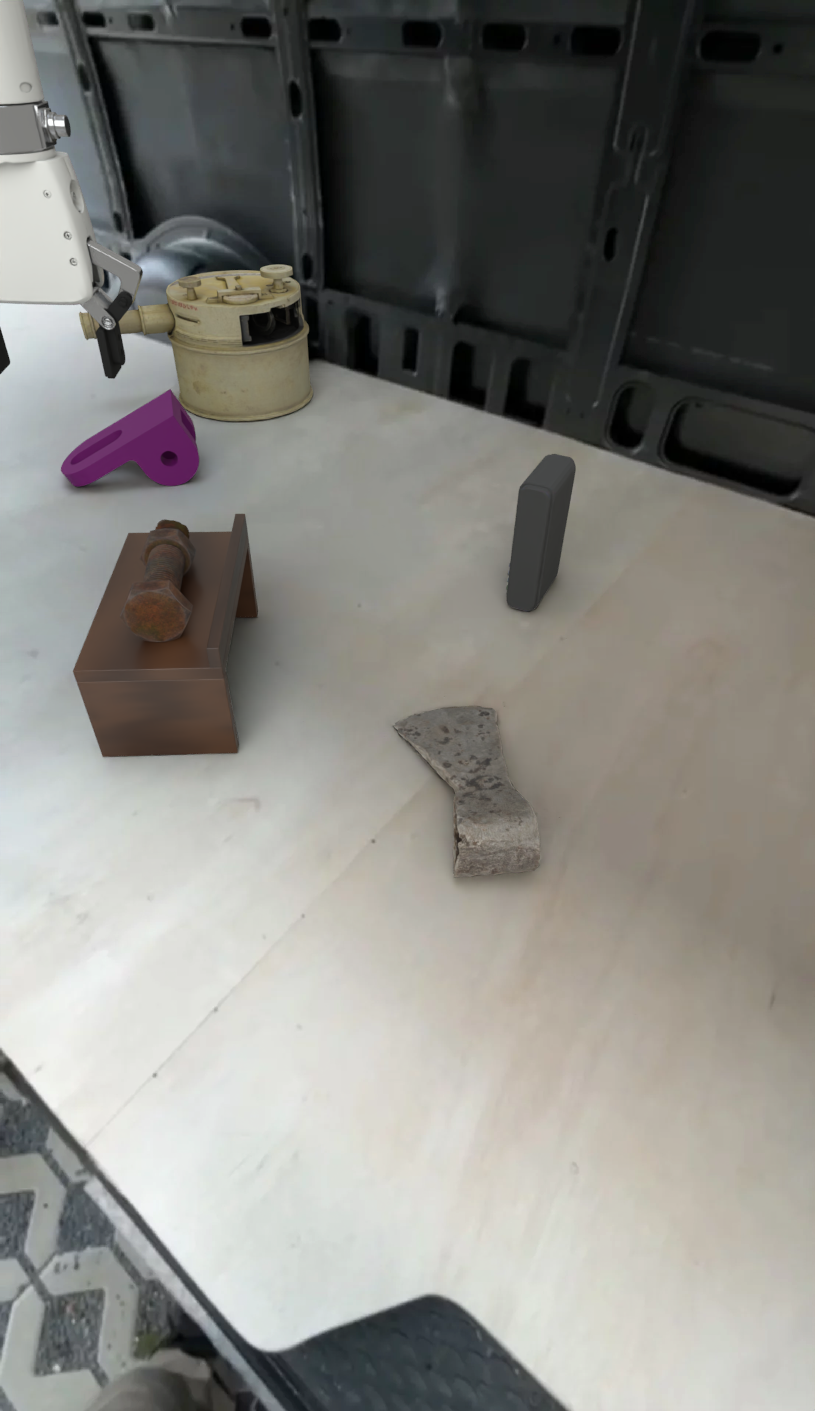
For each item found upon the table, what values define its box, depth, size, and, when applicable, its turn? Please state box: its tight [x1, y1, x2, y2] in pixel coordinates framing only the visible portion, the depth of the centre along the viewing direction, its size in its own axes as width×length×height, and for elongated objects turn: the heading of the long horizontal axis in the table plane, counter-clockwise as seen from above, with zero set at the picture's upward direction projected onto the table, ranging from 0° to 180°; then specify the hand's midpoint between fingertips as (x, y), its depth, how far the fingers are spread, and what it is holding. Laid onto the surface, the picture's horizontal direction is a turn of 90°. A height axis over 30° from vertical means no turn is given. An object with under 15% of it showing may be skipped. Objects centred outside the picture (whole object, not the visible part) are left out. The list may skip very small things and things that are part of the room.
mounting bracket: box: [60, 388, 200, 487], centre depth 110 cm, size 10×8×18 cm
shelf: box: [72, 513, 259, 758], centre depth 75 cm, size 12×22×12 cm, turn 3°
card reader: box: [505, 453, 577, 612], centre depth 86 cm, size 9×4×15 cm, turn 154°
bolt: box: [120, 518, 196, 642], centre depth 71 cm, size 6×5×15 cm
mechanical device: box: [78, 263, 314, 422], centre depth 125 cm, size 22×34×20 cm, turn 109°
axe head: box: [393, 705, 541, 878], centre depth 68 cm, size 21×5×10 cm
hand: (57, 371), depth 69 cm, fingers open, 9 cm apart
